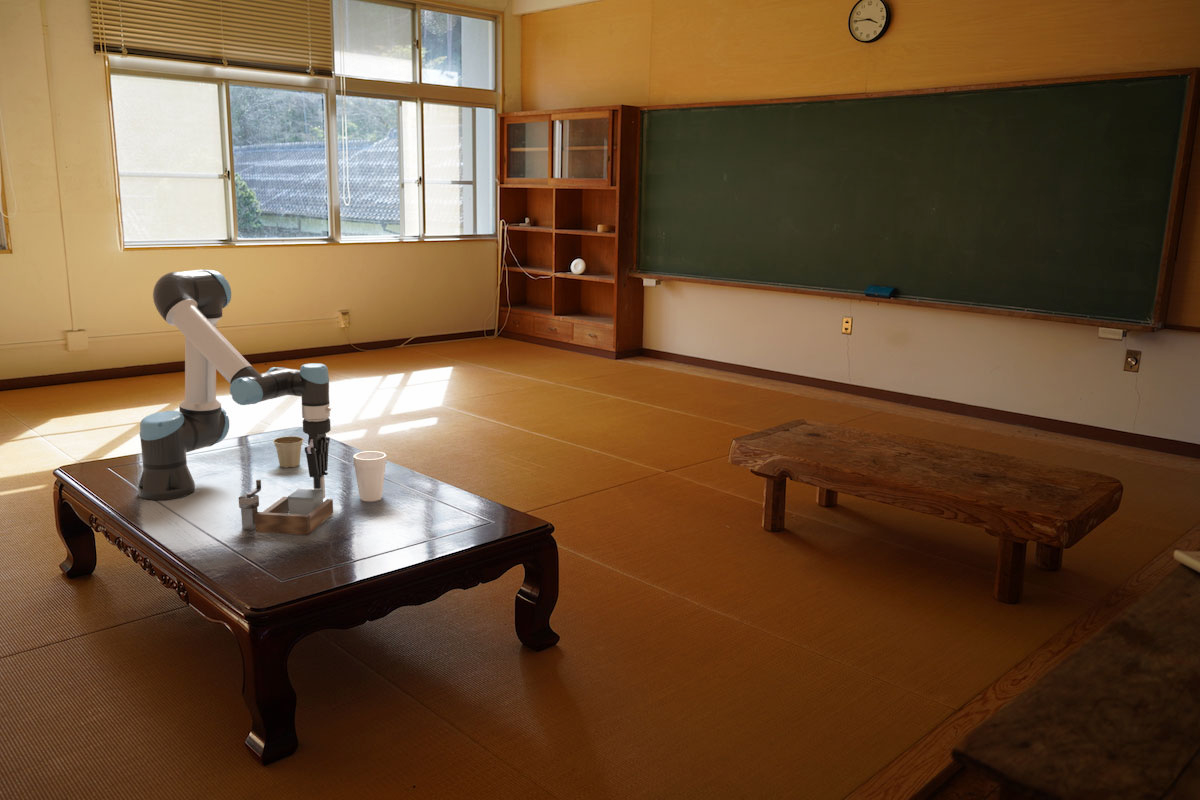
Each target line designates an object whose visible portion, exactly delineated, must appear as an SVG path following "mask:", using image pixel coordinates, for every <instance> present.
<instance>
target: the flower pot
mask: <svg viewBox="0 0 1200 800" xmlns="http://www.w3.org/2000/svg"><path fill="white" fill-rule="evenodd" d="M272 442H273V444H274V447H275V449H276V453H277V459H278V463H279V467H281V468H286V469H287V468H296V467H298V466H299V465H300V463H301V451H302V446H303V442H304V438H303V437H300V436H293V435H290V436H280V437H276V438H275V439H273V440H272Z"/></svg>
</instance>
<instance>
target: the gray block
mask: <svg viewBox="0 0 1200 800" xmlns="http://www.w3.org/2000/svg"><path fill="white" fill-rule="evenodd" d="M287 497H288V506H289V511H288V514H303V515H308V514H310V513H311V512H312V511H313V510H314V509H316V508H317V507H318V506H319V505H321V504H322V503H323V502H324V499H323V490H314V488H313V489H312V488H311V489H309V488H308V489H307V488H297V489H296V490H295V491H293V492H292V493H291V494H289V495H288V496H287Z"/></svg>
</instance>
